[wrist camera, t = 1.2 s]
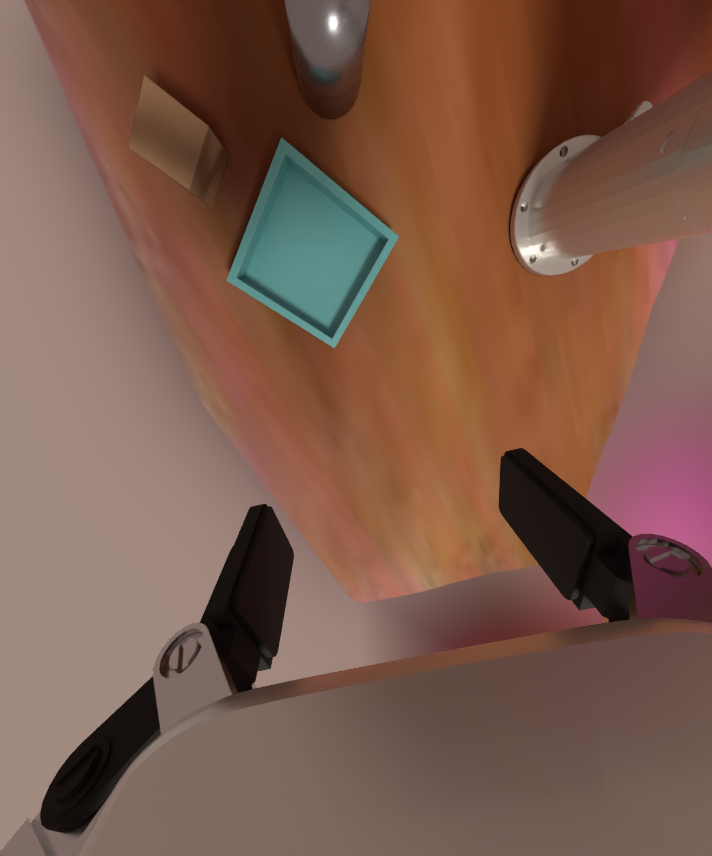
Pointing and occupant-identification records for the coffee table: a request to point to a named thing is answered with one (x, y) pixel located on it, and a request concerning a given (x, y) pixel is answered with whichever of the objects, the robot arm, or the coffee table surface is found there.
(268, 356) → the coffee table surface
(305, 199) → the teal tray
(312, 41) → the metal tin
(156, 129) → the walnut block
